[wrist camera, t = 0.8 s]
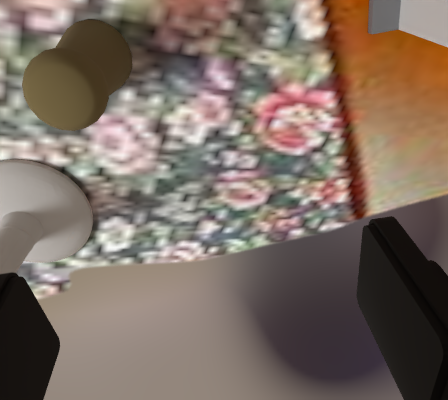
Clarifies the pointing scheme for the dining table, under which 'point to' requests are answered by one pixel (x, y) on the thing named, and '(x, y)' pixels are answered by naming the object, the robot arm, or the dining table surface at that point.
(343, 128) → the dining table surface
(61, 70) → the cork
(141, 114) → the dining table surface
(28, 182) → the candlestick
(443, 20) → the grey rod stand
